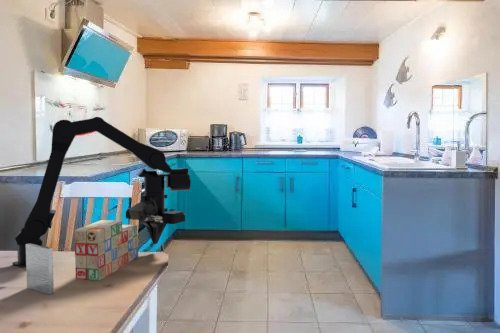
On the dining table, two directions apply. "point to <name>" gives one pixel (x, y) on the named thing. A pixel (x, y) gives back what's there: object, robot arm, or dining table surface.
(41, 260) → the bookend
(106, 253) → the stack of blocks
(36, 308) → the dining table surface
